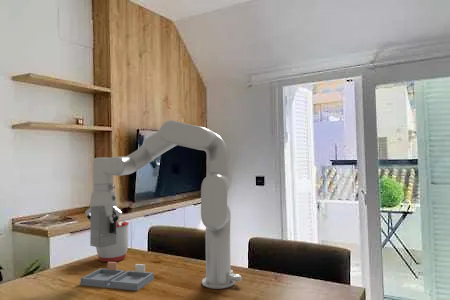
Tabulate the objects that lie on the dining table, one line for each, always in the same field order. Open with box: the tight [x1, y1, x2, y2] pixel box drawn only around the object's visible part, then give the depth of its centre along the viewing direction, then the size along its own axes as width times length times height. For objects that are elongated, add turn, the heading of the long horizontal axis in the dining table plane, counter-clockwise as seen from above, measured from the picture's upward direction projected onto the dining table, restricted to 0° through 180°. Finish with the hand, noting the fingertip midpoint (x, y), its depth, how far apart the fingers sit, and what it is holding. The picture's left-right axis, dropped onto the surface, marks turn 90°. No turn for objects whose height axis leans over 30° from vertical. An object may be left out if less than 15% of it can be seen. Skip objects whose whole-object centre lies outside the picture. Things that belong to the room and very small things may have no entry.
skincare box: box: [89, 206, 118, 248], centre depth 141 cm, size 8×7×16 cm
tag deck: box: [79, 261, 155, 291], centre depth 139 cm, size 25×13×6 cm, turn 74°
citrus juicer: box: [95, 221, 130, 263], centre depth 171 cm, size 16×17×20 cm
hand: (103, 231), depth 141 cm, fingers closed on skincare box, 7 cm apart
